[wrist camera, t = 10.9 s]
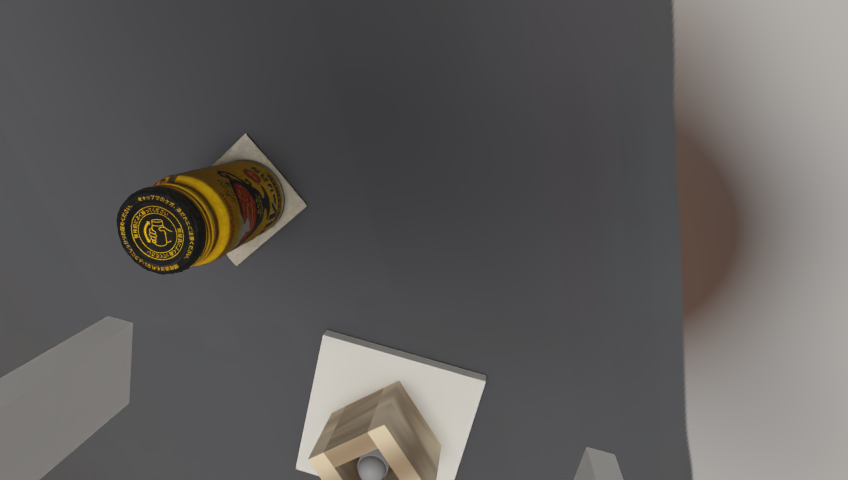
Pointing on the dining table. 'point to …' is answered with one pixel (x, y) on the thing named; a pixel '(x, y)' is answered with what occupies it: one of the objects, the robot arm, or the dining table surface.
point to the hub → (377, 368)
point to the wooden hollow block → (377, 438)
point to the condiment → (208, 212)
